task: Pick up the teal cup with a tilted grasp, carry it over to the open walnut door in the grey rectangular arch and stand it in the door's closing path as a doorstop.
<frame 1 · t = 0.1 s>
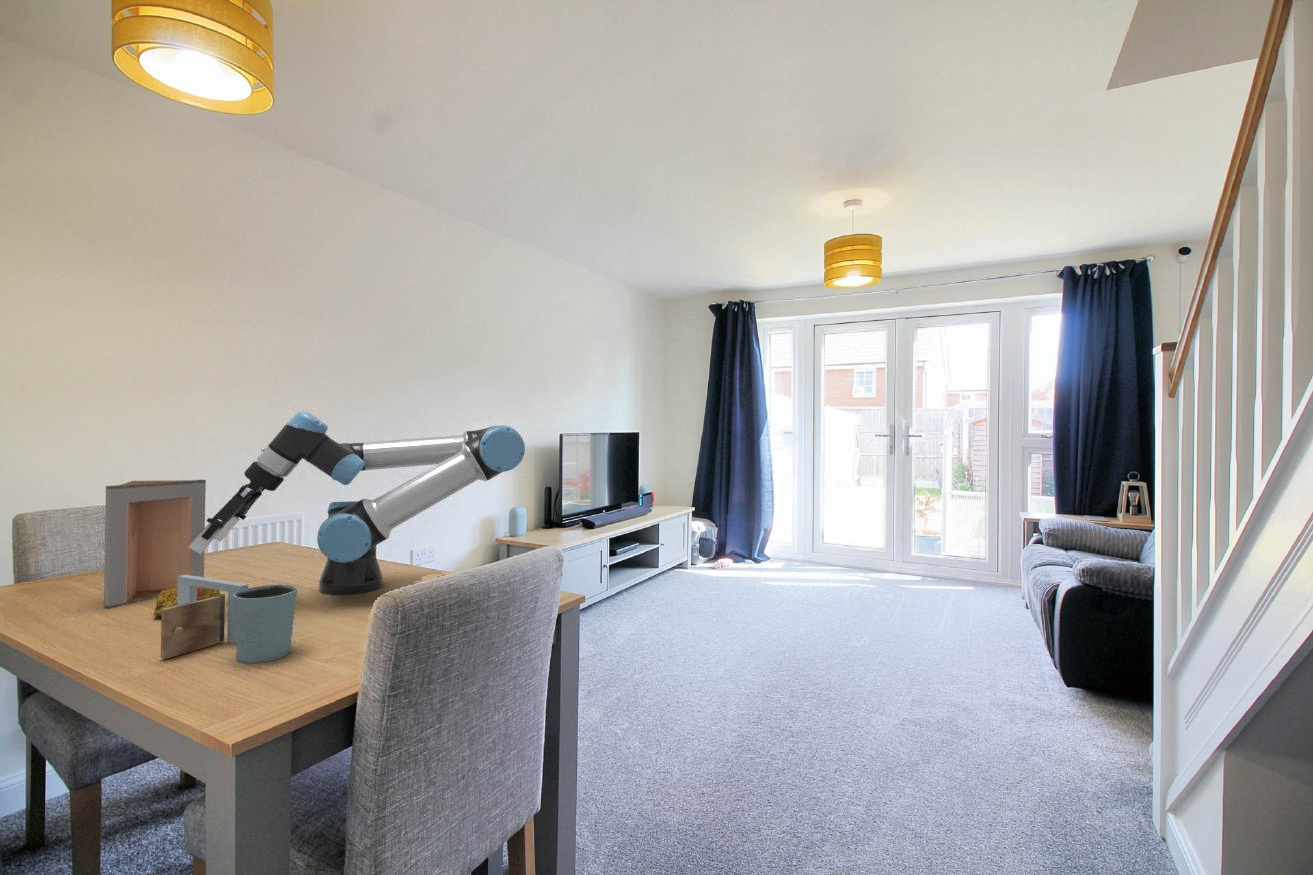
hand: (205, 544, 136), 15 cm above the table, tool tilted 35°, fingers open, 13 cm apart
rock: (187, 613, 136), on the table
cabinet: (146, 595, 147), on the table
grey rectangular arch: (211, 636, 121), on the table
teal cup: (264, 654, 113), on the table
door: (196, 625, 113), point 5 cm above the table, hinge at 85.0°
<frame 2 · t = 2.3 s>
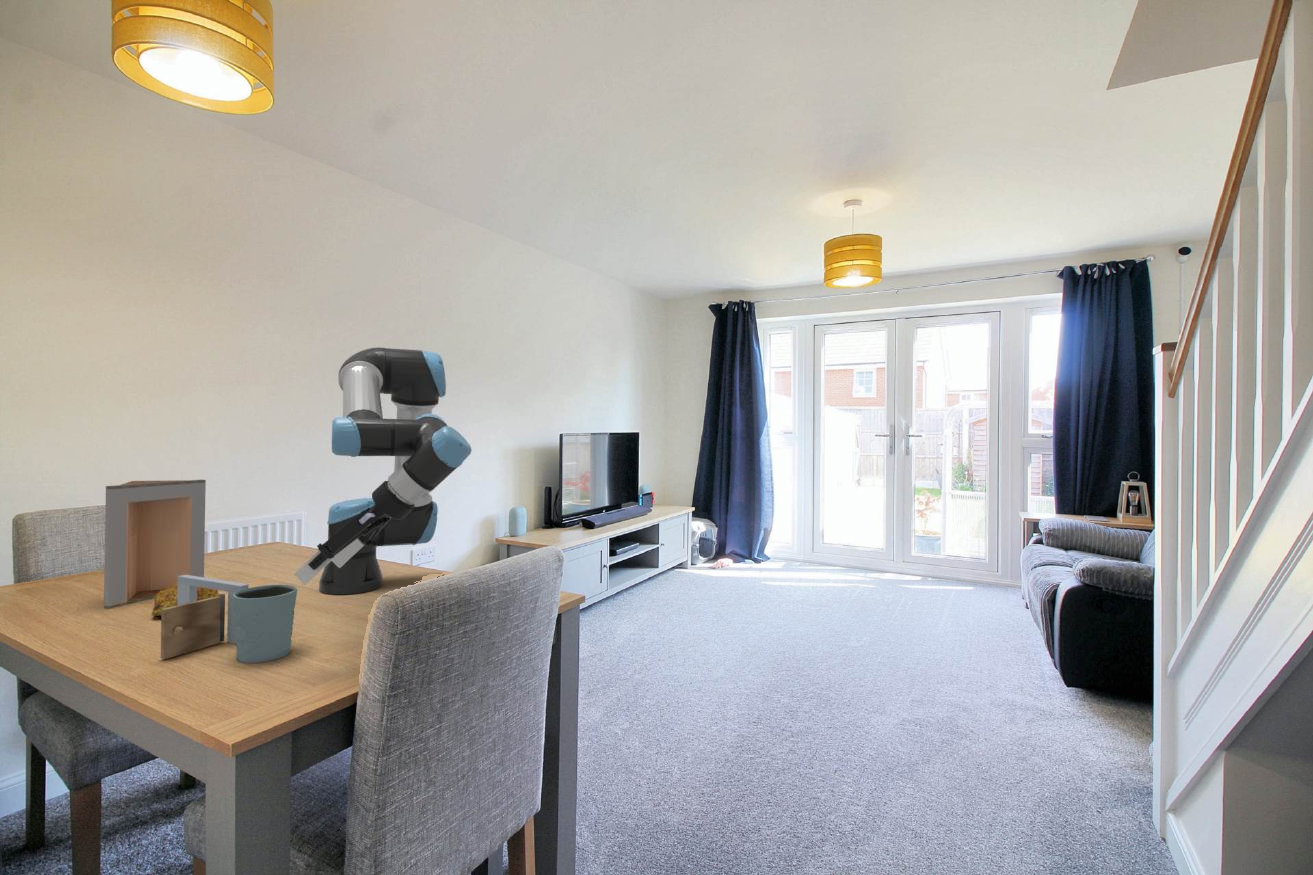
hand: (318, 570, 114), 16 cm above the table, tool tilted 45°, fingers open, 13 cm apart
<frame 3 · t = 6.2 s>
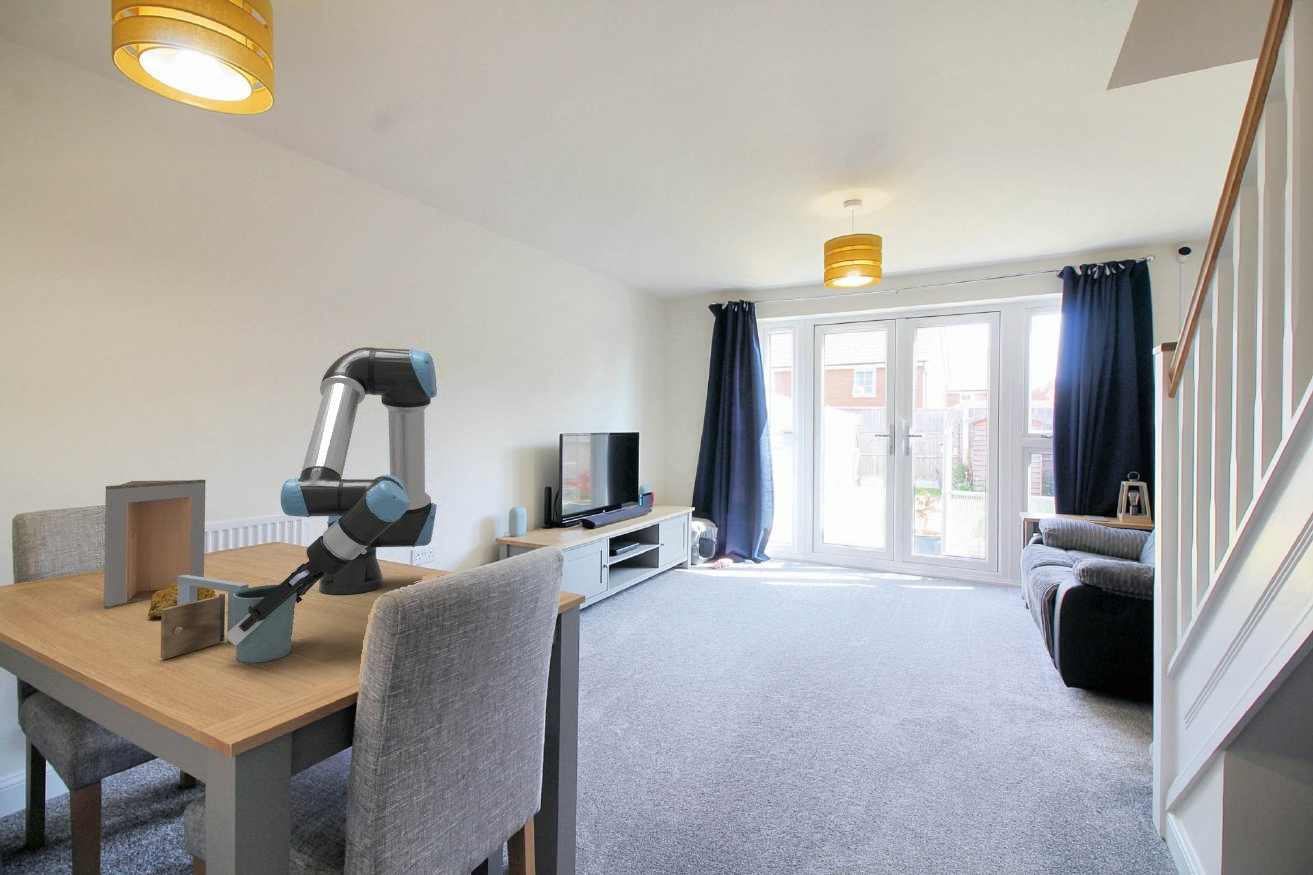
hand: (247, 630, 113), 4 cm above the table, tool tilted 45°, fingers closed on teal cup, 10 cm apart
teal cup: (264, 654, 113), on the table, touching gripper
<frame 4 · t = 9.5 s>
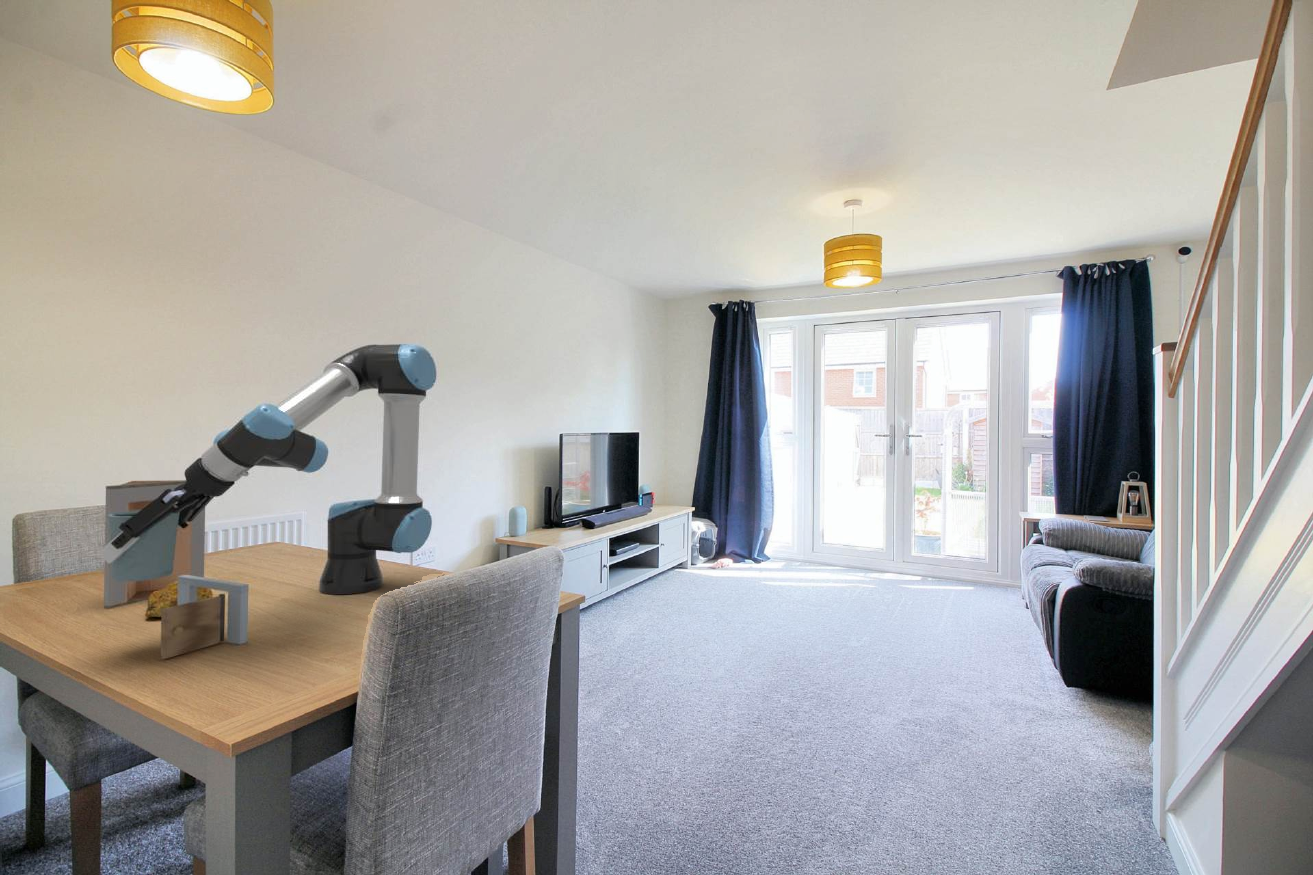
hand: (126, 551, 112), 19 cm above the table, tool tilted 45°, fingers closed on teal cup, 10 cm apart
teal cup: (144, 576, 113), point 14 cm above the table, touching gripper
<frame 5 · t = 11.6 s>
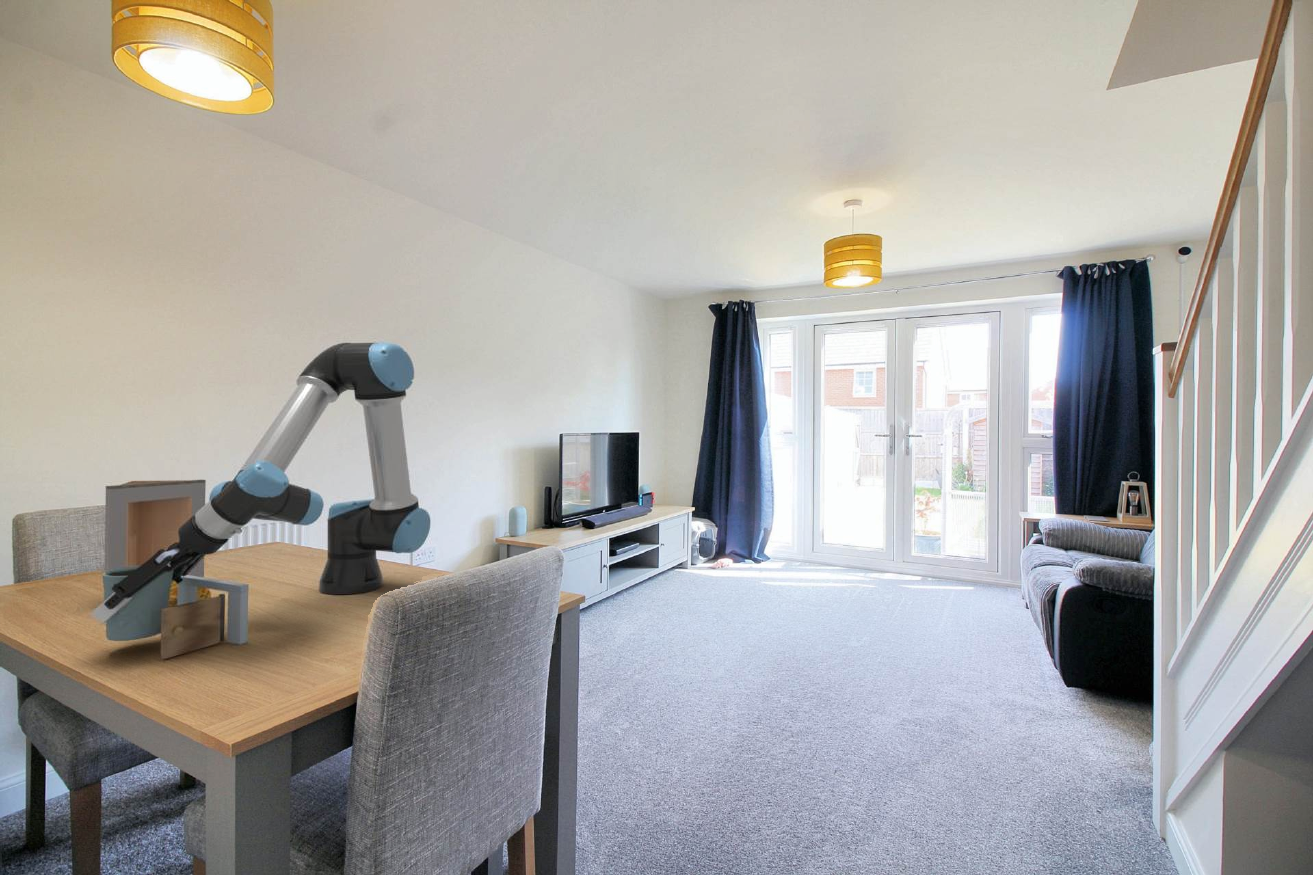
hand: (120, 609, 113), 8 cm above the table, tool tilted 45°, fingers closed on teal cup, 10 cm apart
teal cup: (137, 633, 113), point 3 cm above the table, touching gripper
when the fingers open (7 cm above the table, at t = 13.5 s): teal cup stays where it is, on the table.
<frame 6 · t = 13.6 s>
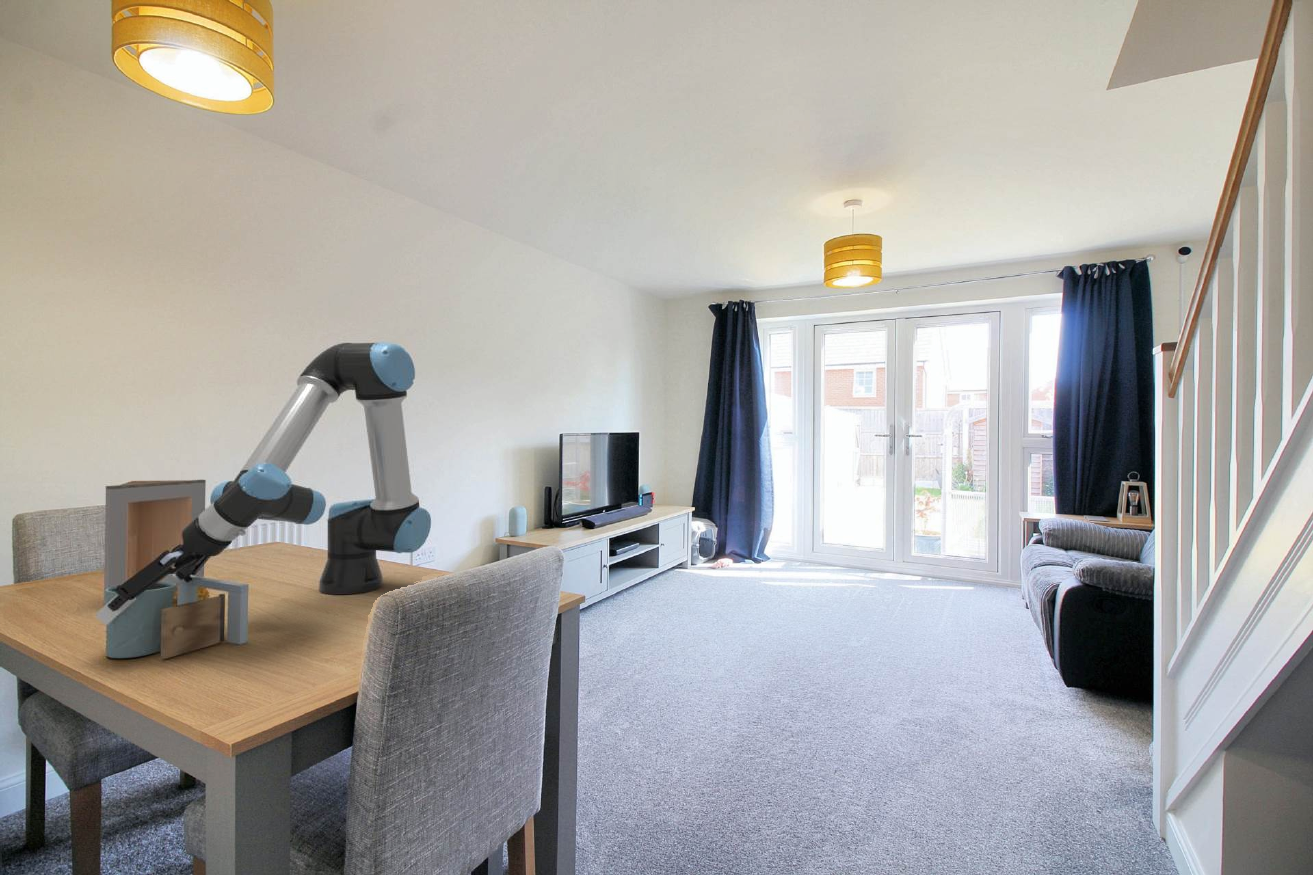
hand: (127, 609, 113), 8 cm above the table, tool tilted 45°, fingers open, 11 cm apart
teal cup: (137, 651, 112), on the table
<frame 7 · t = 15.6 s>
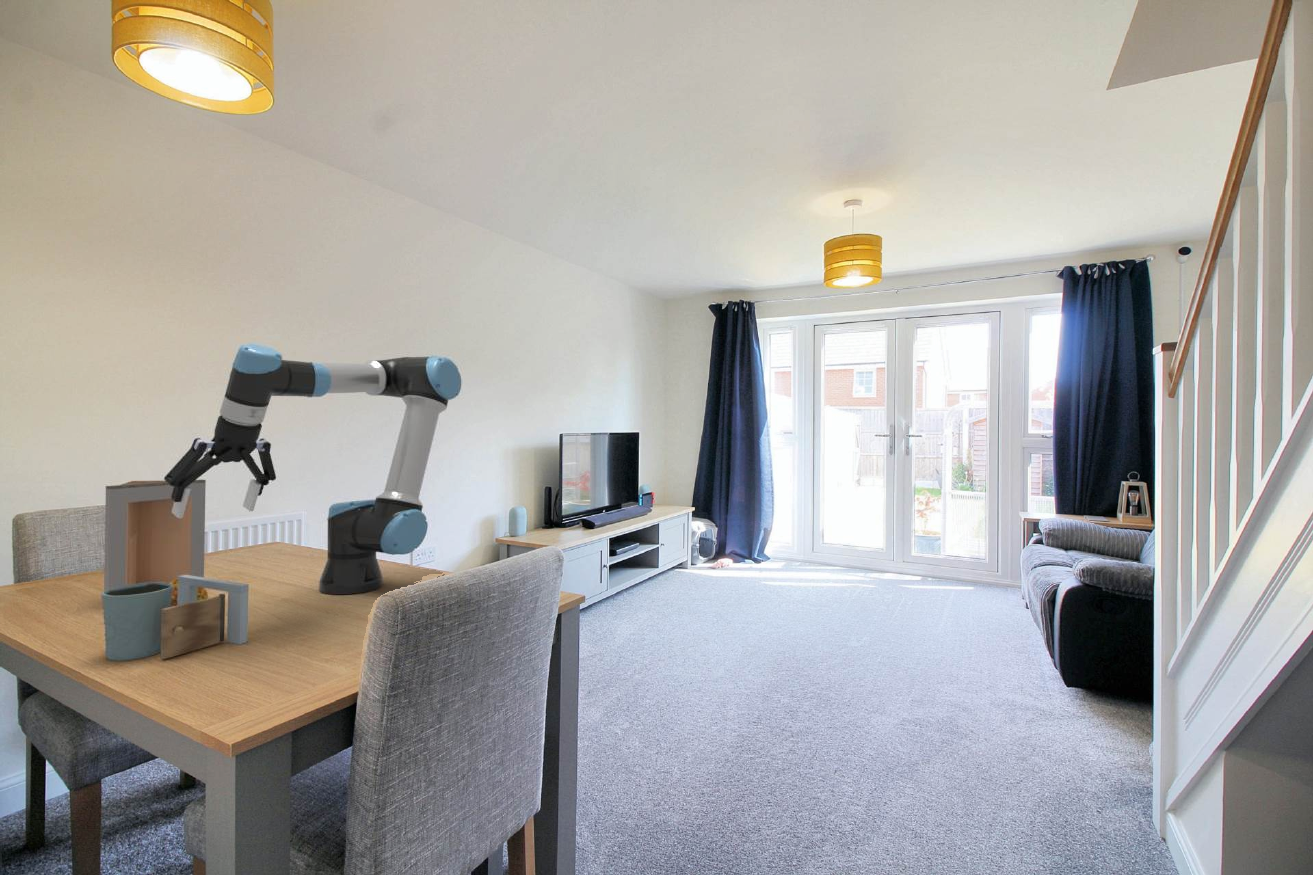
hand: (214, 511, 125), 25 cm above the table, tool tilted 25°, fingers open, 13 cm apart
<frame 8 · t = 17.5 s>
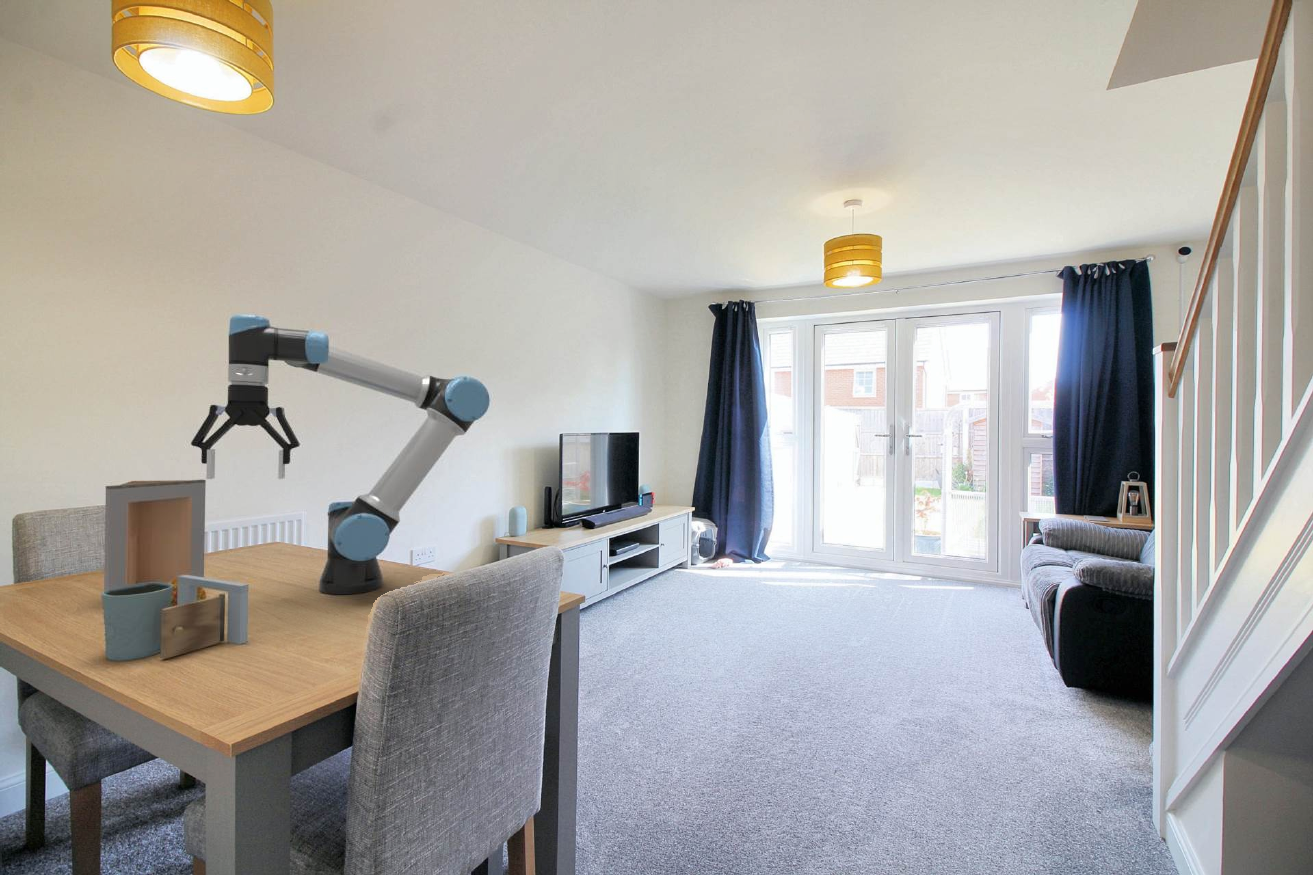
hand: (246, 478, 135), 31 cm above the table, tool pointing down, fingers open, 13 cm apart
at the end: teal cup inside the target area (1.5 cm from its centre), on the table; teal cup tilted 0°; door at +85° (first picture: +85°) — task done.
